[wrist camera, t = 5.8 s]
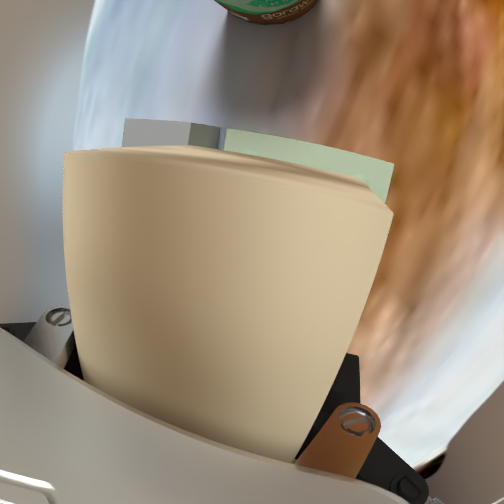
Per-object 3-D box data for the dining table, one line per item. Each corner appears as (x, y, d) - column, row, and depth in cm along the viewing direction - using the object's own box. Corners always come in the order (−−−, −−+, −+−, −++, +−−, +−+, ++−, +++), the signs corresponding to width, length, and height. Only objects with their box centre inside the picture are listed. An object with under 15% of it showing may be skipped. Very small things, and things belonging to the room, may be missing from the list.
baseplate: (391, 163, 23) (394, 164, 22) (349, 311, 28) (350, 317, 27) (230, 129, 26) (226, 128, 25) (209, 274, 31) (205, 279, 29)
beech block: (359, 178, 10) (393, 213, 4) (282, 425, 14) (252, 526, 8) (190, 145, 11) (64, 152, 5) (172, 389, 15) (113, 471, 9)
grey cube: (220, 127, 26) (191, 122, 20) (210, 192, 28) (180, 203, 23) (162, 121, 27) (125, 118, 22) (155, 182, 29) (118, 190, 24)
